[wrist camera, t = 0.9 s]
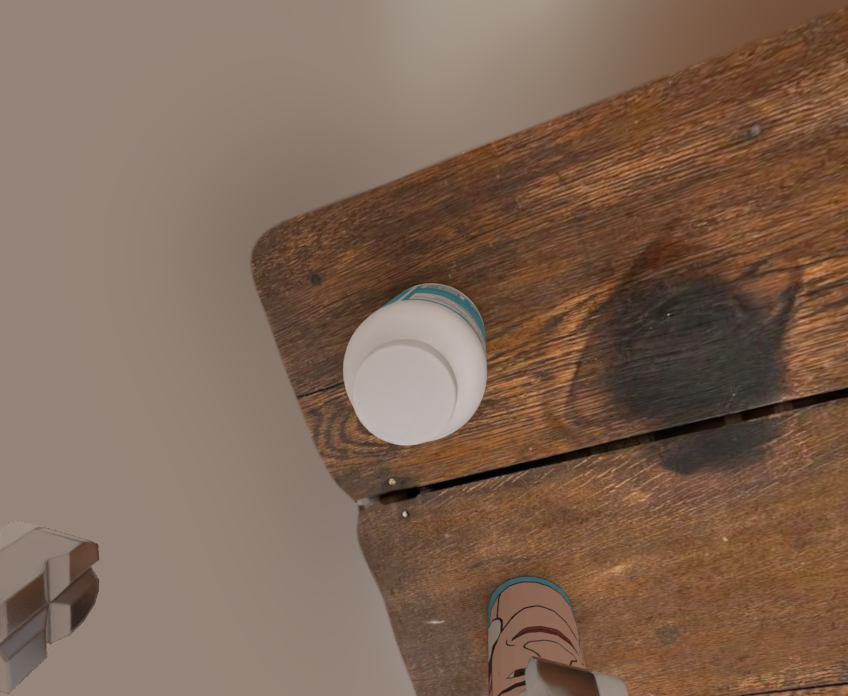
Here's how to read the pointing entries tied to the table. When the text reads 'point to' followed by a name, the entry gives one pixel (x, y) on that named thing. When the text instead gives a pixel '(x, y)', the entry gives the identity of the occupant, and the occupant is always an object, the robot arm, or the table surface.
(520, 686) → the printed label cylinder
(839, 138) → the table surface
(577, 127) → the table surface
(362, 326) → the pill bottle
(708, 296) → the table surface
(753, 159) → the table surface
